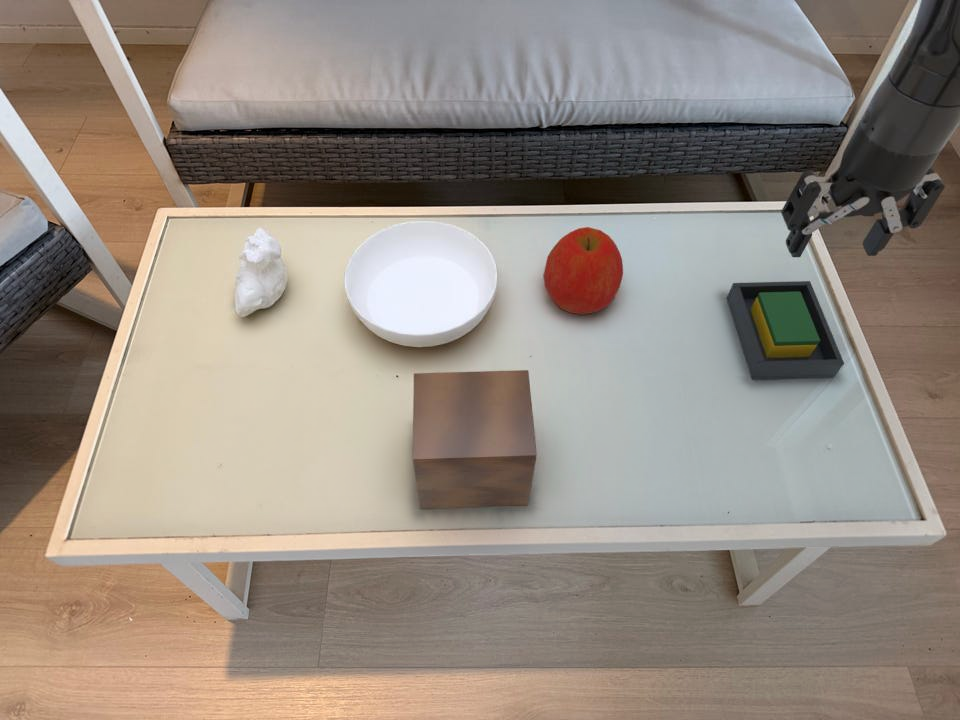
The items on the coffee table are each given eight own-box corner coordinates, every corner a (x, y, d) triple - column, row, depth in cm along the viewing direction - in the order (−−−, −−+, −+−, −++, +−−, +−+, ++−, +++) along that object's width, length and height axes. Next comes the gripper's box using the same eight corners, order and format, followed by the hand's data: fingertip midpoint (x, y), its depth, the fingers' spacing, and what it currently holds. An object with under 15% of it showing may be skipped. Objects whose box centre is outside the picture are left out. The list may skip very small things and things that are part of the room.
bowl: (510, 352, 89) (512, 323, 84) (357, 375, 87) (350, 346, 82) (481, 244, 100) (482, 212, 95) (345, 261, 98) (338, 229, 93)
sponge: (809, 357, 89) (820, 340, 86) (766, 358, 88) (776, 342, 86) (790, 308, 93) (800, 291, 90) (750, 309, 93) (759, 292, 90)
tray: (833, 377, 88) (844, 363, 85) (752, 379, 87) (760, 365, 85) (801, 295, 95) (810, 280, 93) (726, 297, 95) (733, 282, 92)
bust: (260, 337, 93) (298, 297, 85) (204, 312, 89) (239, 268, 82) (281, 270, 100) (318, 228, 92) (231, 245, 96) (265, 198, 88)
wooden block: (521, 426, 83) (528, 369, 73) (528, 505, 77) (536, 455, 67) (420, 429, 83) (413, 373, 73) (419, 509, 77) (412, 459, 67)
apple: (601, 259, 99) (614, 203, 90) (628, 314, 93) (644, 260, 84) (532, 272, 97) (538, 216, 88) (555, 329, 91) (564, 275, 83)
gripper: (842, 154, 62) (777, 277, 75) (998, 152, 63) (906, 275, 76) (816, 104, 66) (758, 229, 80) (961, 102, 67) (880, 226, 80)
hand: (830, 251), depth 78 cm, fingers open, 8 cm apart
